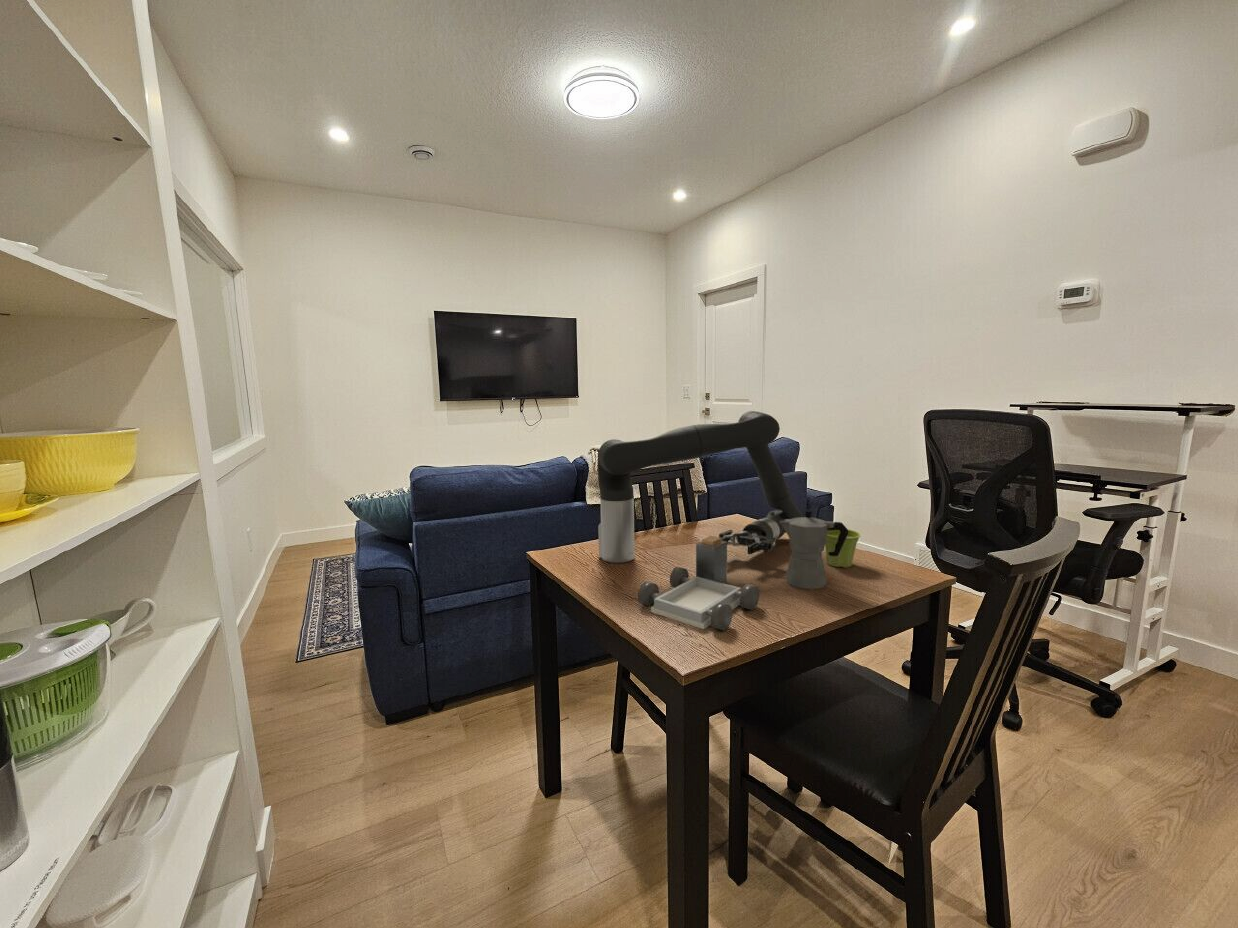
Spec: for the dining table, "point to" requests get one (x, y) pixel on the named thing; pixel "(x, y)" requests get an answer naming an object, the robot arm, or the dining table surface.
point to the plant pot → (846, 551)
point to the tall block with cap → (712, 559)
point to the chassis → (698, 600)
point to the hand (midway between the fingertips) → (733, 547)
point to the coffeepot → (810, 549)
